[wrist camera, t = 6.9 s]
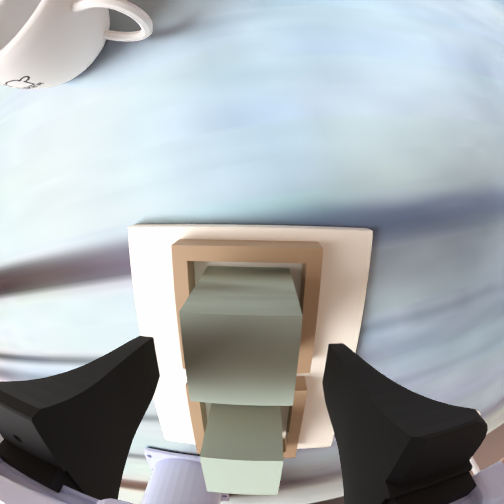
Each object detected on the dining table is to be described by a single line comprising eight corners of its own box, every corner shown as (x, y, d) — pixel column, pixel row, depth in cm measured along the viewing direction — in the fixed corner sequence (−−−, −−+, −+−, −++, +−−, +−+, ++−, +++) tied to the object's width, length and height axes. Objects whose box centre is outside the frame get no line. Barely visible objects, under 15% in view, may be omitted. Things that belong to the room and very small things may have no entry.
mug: (24, 100, 15) (-48, 87, 7) (59, 10, 13) (4, -24, 5) (148, 103, 15) (75, 61, 7) (188, -4, 13) (154, -76, 5)
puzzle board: (328, 438, 21) (341, 502, 14) (167, 432, 21) (146, 492, 14) (367, 228, 16) (426, 258, 10) (134, 224, 17) (67, 251, 10)
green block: (285, 338, 17) (292, 405, 11) (211, 336, 17) (190, 400, 11) (289, 267, 16) (302, 315, 10) (207, 265, 16) (179, 311, 10)
